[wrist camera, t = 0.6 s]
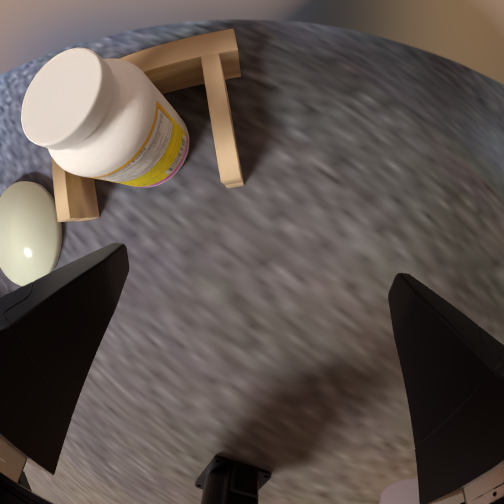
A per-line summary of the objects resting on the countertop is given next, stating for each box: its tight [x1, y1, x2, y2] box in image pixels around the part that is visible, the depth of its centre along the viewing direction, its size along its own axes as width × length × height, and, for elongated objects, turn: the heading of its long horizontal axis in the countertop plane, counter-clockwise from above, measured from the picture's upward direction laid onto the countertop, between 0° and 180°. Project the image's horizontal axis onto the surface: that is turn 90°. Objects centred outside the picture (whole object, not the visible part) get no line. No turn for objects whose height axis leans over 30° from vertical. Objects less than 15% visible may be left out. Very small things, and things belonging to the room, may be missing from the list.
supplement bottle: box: [21, 48, 189, 187], centre depth 16 cm, size 7×7×13 cm
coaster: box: [0, 181, 62, 286], centre depth 22 cm, size 10×10×1 cm
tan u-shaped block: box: [52, 29, 244, 222], centre depth 20 cm, size 11×16×4 cm
